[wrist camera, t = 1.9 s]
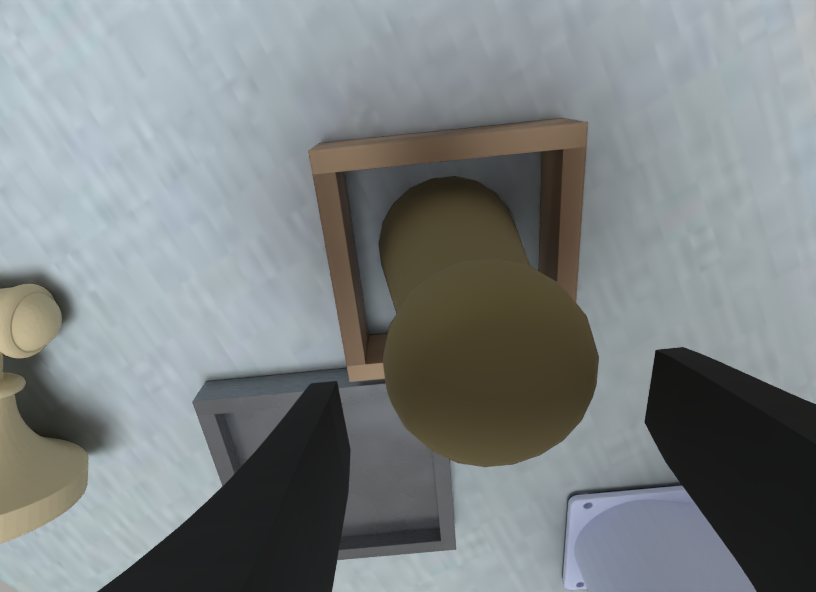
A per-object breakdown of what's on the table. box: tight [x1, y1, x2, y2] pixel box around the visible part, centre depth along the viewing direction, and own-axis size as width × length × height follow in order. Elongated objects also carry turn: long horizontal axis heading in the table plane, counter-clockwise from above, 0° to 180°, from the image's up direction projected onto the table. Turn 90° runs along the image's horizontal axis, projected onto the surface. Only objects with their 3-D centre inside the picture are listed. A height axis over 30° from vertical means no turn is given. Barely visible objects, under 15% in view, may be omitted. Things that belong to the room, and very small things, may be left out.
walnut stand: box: [309, 118, 588, 382], centre depth 19 cm, size 10×10×2 cm
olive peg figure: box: [379, 176, 599, 467], centre depth 15 cm, size 6×6×11 cm
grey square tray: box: [193, 368, 456, 560], centre depth 24 cm, size 12×12×2 cm
